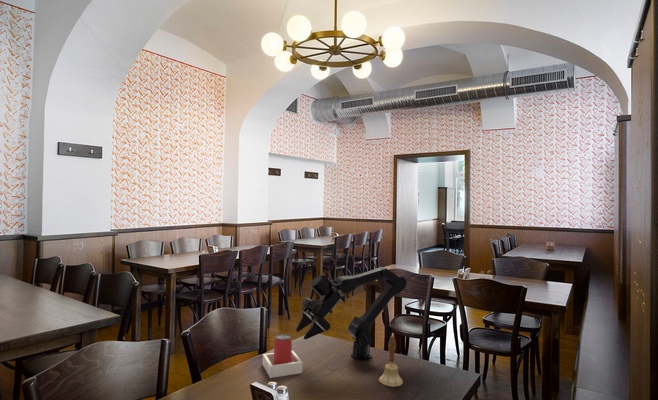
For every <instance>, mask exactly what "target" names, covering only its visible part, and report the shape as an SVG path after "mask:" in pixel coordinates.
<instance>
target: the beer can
mask: <svg viewBox="0 0 658 400" xmlns="http://www.w3.org/2000/svg"><path fill="white" fill-rule="evenodd" d="M273 343H274V344H273V348H274V349H273V353H274V364H273V365H278V364H284V363H291V357H292V349H293V343H292V338H291V335H289V334H287V333H286V334H285V333H284V334H282V333H281V334H278V335H275V339H274V342H273Z"/></svg>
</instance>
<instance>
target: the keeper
mask: <svg viewBox="0 0 658 400" xmlns="http://www.w3.org/2000/svg"><path fill="white" fill-rule="evenodd" d="M262 366H263V368H264V370H265V372H266V373H267V375H268V377H269V379H272V378H279V377H285V376H292V375H298V374H303V361H302V359H301V358H300V357H299V356H298V355H297V354H296V352H295V351H294V350H292V357H291V363H284V364H278V365H274V352H269V353H268V352H267V353H263V354H262Z"/></svg>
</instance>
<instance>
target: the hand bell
mask: <svg viewBox="0 0 658 400" xmlns="http://www.w3.org/2000/svg"><path fill="white" fill-rule="evenodd" d="M396 347H397V343H396V338H395V336H394V335H390V337H389V340H388V352H389V358H388V363H386V364H385V366H384V371H383V373H382V375H381V376H380V377H379V378H378V381H379V383H381V384H382V385H384V386H387V387H392V388H393V387H394V388H395V387H400V386H402V385H403V384H404V381H403V379H402V377H401V376H400V374H399V367H398V366H397V364H395V351H396Z"/></svg>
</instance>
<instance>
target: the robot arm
mask: <svg viewBox="0 0 658 400" xmlns="http://www.w3.org/2000/svg"><path fill="white" fill-rule="evenodd" d="M381 279H383V280H384V281H385V282H384V286H383V290H381V292H380V293H379V295H378V296H377V297H376V299H375V300H374V301H373V302H372V303H371V305H370V306H369V307H368V309H367V310H366V311H364V313H363V315H360V317H359V316H357V315H355V316H354V317H353V319H352V320H351V321H350V322H349V326H348V327H347V329H348V334H349V335H350V336H351V338H352V340H354V341H353V345H352V353H351V354H350V356H351V357H353V358H355V359H357V360H359V361H364V360H367V359H372V358H373V355H372V354H370V353H371V349H370V348H371V345H372V344H373V342H374V339H373V337H371V335H370V332H371V328H372V324H373V323H374V321H375V320H377V318H378V316H379V315H380V314H381V313H382V312H383V310H384V309H385V308H386V306H387V305H388V304H389V302H390V301H391V300H392V299H393V298H394V297H395V296H397V295H399V294H401V293H402V292H403V291H404V290H406V288H407V285H408V284H407V279H406V278H405V277H403V276H401V275H398V274H395V273H394V272H392V271H390V270H389V269H388V268H386V267H383V266H379V267H378V268H375V269H371V270H369V271H365V272H362V273H358V274H356V275H340V276H338V277H336V278H335V279H332V280H329V279H328V278H327V276H326V275H325V274H324V273H321V274H320V275H317V276H316V277H315V278H313V279H312V280H311V282H310V288H312V289H313V291H315V292H316V293H317V294H318V295H319V296H320V297H322V296H323V297H322V298H321V299H317V300H316V299H314V298H312V299H310V298H308V297H306V296H304V297H303V299H302V301H301V303H300V305H301V306H302V307H301V308H300V309H301V311H300V312H301V318H300V319H299V322H298V325H297V327H296V329H295V331H296V332H297V333H299V332H300V331H301V330H303V329H305V328H306V327H307V326H309V325H310V327H309V329H308V330H307V331H306V333H305V335H304V336H303V339H304V340H308V339H311V338H312V337H315V336H317V335H319V334H323V333H325V332H328V331H330V330H331V324H330V323H329V322H328V321H327V320H326V317H327V316H328V315H329V314H333V309H334V308H335V307H336V306H337V304H338V303H339V302H340V301H341V302H342V303H346V297H345V296H346V295H345V294H349V293H351V292H353V291H355V290H357V288H358V287H360V286H363V285H366V284H368V283H372V282H375V281H378V280H381ZM340 292H341V293H343V294H341V293H340Z"/></svg>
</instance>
